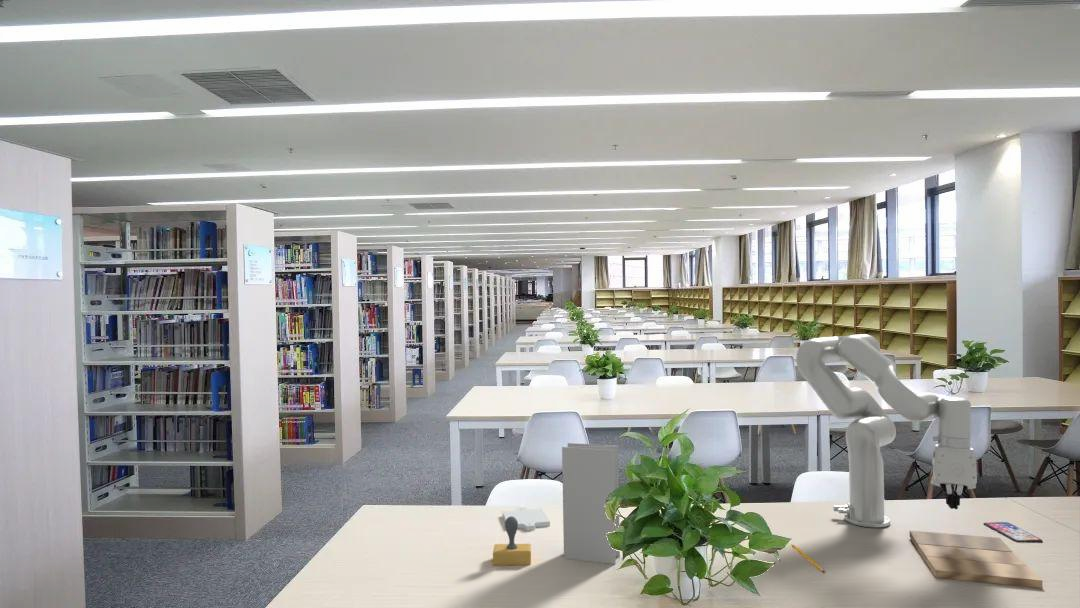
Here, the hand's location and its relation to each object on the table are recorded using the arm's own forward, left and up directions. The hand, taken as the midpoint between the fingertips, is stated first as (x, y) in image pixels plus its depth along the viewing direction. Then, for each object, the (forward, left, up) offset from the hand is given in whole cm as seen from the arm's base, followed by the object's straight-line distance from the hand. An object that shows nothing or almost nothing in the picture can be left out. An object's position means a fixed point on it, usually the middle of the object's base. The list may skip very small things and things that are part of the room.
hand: (952, 507), depth 180 cm
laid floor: (0, -17, -10) cm, 20 cm away
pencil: (-40, -21, -11) cm, 46 cm away
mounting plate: (-122, -13, -11) cm, 123 cm away
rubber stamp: (-115, -44, -11) cm, 123 cm away
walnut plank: (0, -3, -10) cm, 10 cm away
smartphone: (+18, +14, -11) cm, 26 cm away
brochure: (-95, -36, -10) cm, 102 cm away
